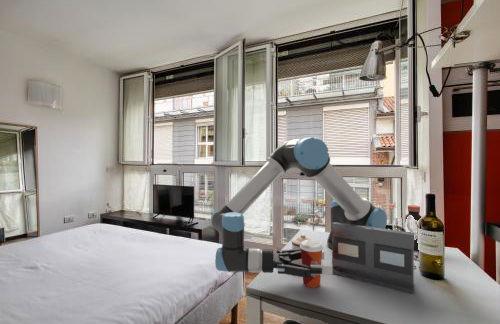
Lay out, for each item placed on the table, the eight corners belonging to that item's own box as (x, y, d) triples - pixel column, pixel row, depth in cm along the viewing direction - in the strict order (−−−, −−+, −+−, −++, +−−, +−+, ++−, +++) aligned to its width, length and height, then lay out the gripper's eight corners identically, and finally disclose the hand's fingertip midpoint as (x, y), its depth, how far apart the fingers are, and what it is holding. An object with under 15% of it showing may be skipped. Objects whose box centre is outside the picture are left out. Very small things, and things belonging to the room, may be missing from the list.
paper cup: (316, 292, 81) (316, 249, 80) (295, 283, 86) (295, 243, 85) (327, 282, 87) (327, 242, 86) (307, 274, 92) (307, 237, 91)
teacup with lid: (310, 269, 97) (310, 239, 97) (288, 264, 102) (288, 236, 102) (319, 259, 107) (319, 231, 107) (298, 254, 112) (298, 228, 112)
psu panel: (336, 265, 101) (336, 220, 101) (413, 283, 86) (414, 231, 86) (330, 272, 94) (330, 225, 94) (412, 293, 80) (413, 237, 79)
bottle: (425, 250, 117) (426, 207, 116) (413, 251, 115) (414, 207, 115) (413, 245, 123) (413, 204, 123) (401, 246, 122) (401, 205, 121)
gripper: (262, 257, 97) (320, 259, 95) (260, 289, 74) (337, 292, 72) (262, 238, 97) (320, 239, 95) (260, 264, 74) (337, 266, 72)
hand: (327, 262), depth 84 cm, fingers open, 11 cm apart
